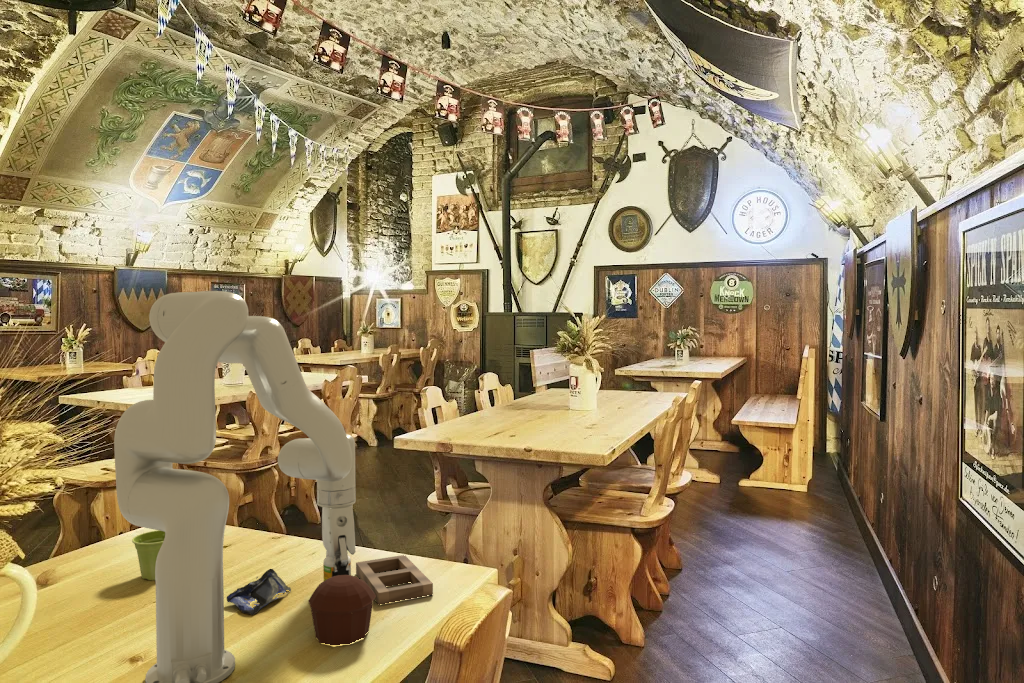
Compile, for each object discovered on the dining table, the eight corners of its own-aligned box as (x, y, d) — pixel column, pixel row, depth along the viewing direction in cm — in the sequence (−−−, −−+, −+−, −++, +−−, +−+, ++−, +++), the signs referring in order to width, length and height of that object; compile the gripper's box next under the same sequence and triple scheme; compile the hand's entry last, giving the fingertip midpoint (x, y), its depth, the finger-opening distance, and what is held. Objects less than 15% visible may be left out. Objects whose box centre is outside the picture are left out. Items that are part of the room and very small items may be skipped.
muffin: (295, 636, 119) (295, 579, 118) (348, 615, 127) (348, 562, 127) (335, 657, 111) (335, 597, 111) (389, 634, 119) (388, 577, 119)
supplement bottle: (318, 598, 135) (318, 549, 135) (331, 587, 141) (331, 541, 140) (343, 600, 134) (342, 551, 134) (355, 590, 139) (355, 543, 139)
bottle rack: (432, 595, 136) (432, 583, 136) (378, 605, 131) (378, 593, 131) (404, 565, 153) (404, 554, 153) (356, 573, 149) (355, 562, 148)
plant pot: (181, 579, 146) (180, 539, 146) (131, 586, 142) (130, 545, 142) (181, 565, 154) (181, 527, 154) (134, 572, 150) (133, 533, 150)
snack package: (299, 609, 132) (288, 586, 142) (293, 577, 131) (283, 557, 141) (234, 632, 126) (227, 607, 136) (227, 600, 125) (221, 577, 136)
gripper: (365, 503, 131) (366, 596, 131) (345, 485, 146) (346, 568, 147) (325, 508, 128) (326, 603, 128) (310, 488, 143) (310, 574, 143)
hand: (337, 584), depth 137 cm, fingers closed on supplement bottle, 5 cm apart
